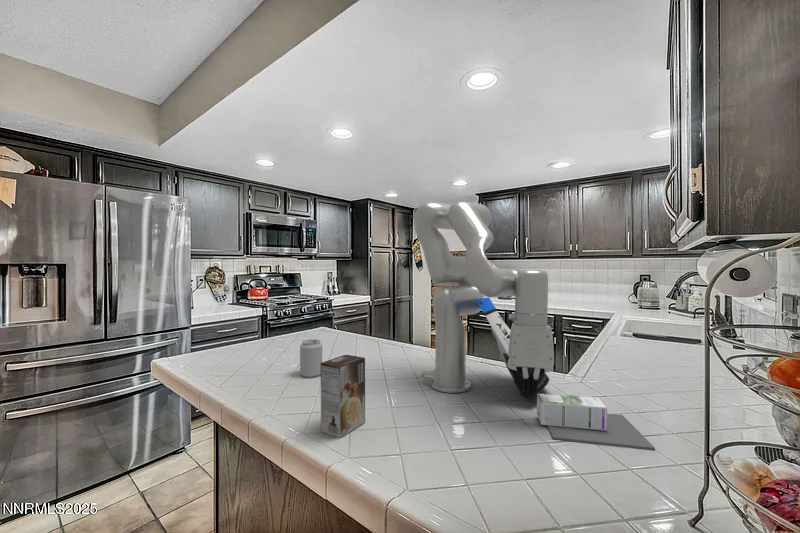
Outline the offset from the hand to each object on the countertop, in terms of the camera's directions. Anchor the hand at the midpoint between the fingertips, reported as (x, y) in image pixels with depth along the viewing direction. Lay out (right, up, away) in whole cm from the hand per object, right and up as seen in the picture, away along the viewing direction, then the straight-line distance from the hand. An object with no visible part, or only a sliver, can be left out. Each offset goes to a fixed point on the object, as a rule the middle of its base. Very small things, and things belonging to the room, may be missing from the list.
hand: (529, 393), depth 84 cm
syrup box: (+2, -4, -1) cm, 4 cm away
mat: (+13, -7, -3) cm, 15 cm away
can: (-63, -7, +34) cm, 72 cm away
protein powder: (+8, -5, +17) cm, 20 cm away
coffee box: (-46, -7, -4) cm, 46 cm away
